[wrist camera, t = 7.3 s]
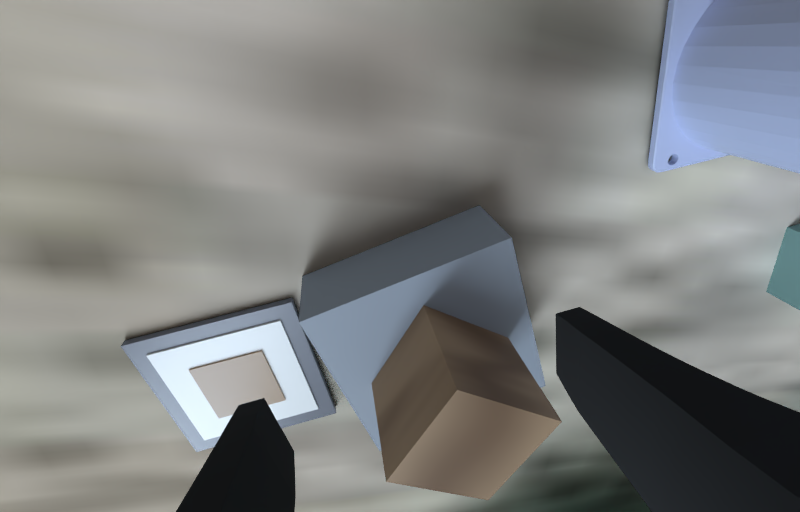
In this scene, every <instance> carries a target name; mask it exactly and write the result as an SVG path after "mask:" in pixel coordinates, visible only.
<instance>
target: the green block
mask: <svg viewBox="0 0 800 512" xmlns="http://www.w3.org/2000/svg"><path fill="white" fill-rule="evenodd" d="M766 292H768V293H770V294H771V295H773V296H775V297H777V298H779V299H780V300H782V301H784V302H786V303H788V304H789V305H791V306H793V307H795V308H797V309H798V310H800V224H797V225H794V226H790V227H787V229H786V232H785V235H784V238H783V241H782V244H781V248H780V251H779V254H778V257H777V260H776V263H775V266H774V269H773V272H772V276H771V279H770V282H769V285H768V288H767V291H766Z"/></svg>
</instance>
